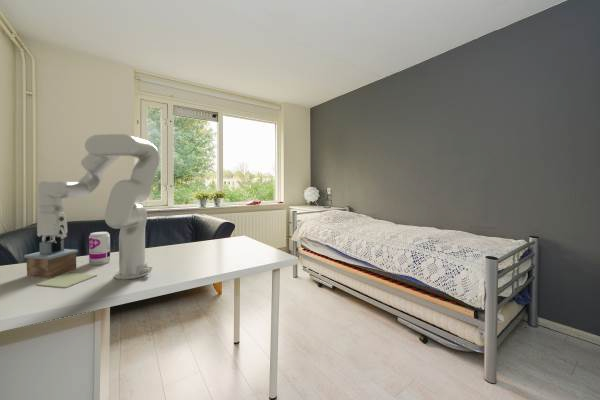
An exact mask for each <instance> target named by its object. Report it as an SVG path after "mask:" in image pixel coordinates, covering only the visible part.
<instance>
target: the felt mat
mask: <svg viewBox="0 0 600 400" xmlns="http://www.w3.org/2000/svg"><path fill="white" fill-rule="evenodd" d="M95 277H97V274H90V273H89V274H88V273H79V272H67V273H64V274H61V275H58V276H55V277H52V278H49V279H48V280H44V281H42V282H39V283H35V286H40V287H52V288H62V289H67V288H70V287H72V286H74V285H77V284H80V283H83V282H85V281H87V280H91V279H93V278H95Z"/></svg>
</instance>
